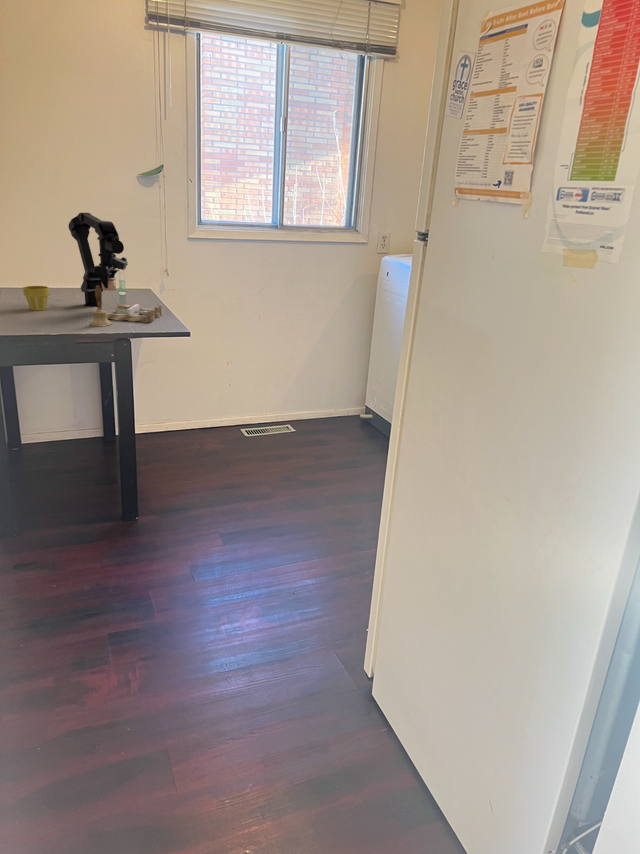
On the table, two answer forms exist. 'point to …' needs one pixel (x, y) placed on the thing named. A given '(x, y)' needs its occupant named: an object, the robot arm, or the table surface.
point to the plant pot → (36, 297)
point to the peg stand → (135, 310)
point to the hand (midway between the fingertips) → (108, 287)
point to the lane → (151, 315)
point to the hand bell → (99, 310)
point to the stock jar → (123, 308)
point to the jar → (110, 284)
